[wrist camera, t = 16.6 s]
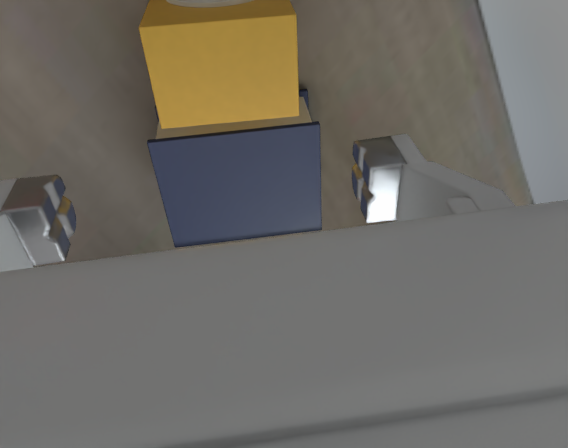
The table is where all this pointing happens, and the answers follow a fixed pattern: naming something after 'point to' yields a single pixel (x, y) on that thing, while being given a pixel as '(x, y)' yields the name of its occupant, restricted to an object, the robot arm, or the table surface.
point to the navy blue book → (240, 178)
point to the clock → (221, 60)
